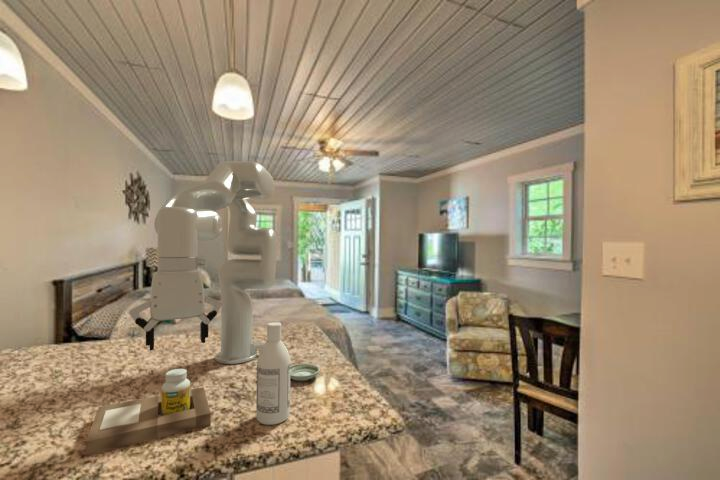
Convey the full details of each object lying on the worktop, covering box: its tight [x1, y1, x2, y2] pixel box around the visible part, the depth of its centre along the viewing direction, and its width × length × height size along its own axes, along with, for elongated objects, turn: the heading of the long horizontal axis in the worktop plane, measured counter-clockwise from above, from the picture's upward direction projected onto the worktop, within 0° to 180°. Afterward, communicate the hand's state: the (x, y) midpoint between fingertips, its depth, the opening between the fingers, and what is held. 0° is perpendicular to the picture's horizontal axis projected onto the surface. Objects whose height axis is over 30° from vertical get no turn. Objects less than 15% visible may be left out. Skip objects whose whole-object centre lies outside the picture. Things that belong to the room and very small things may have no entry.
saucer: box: [290, 363, 321, 382], centre depth 93 cm, size 10×10×2 cm
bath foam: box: [255, 322, 291, 426], centre depth 72 cm, size 7×7×20 cm
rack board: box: [85, 386, 212, 457], centre depth 70 cm, size 20×14×3 cm
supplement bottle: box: [160, 368, 191, 416], centre depth 72 cm, size 5×5×10 cm
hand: (178, 344), depth 72 cm, fingers open, 9 cm apart
